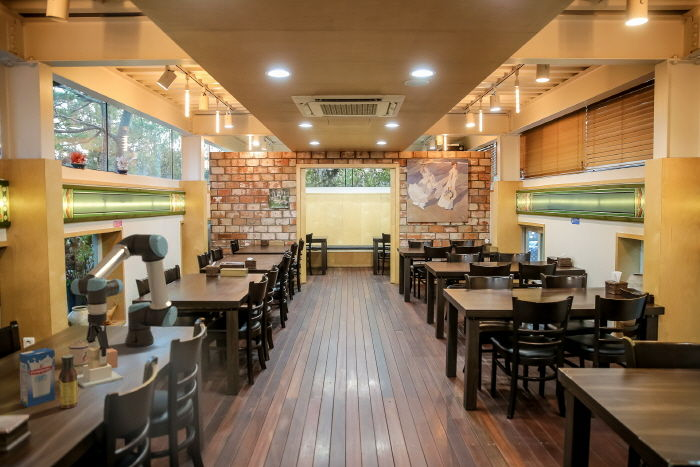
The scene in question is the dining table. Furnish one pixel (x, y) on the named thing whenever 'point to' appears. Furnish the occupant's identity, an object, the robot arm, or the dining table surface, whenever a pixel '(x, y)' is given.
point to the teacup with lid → (79, 352)
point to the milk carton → (37, 377)
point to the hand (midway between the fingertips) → (97, 360)
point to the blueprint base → (89, 384)
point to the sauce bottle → (68, 383)
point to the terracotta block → (112, 357)
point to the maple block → (94, 358)
